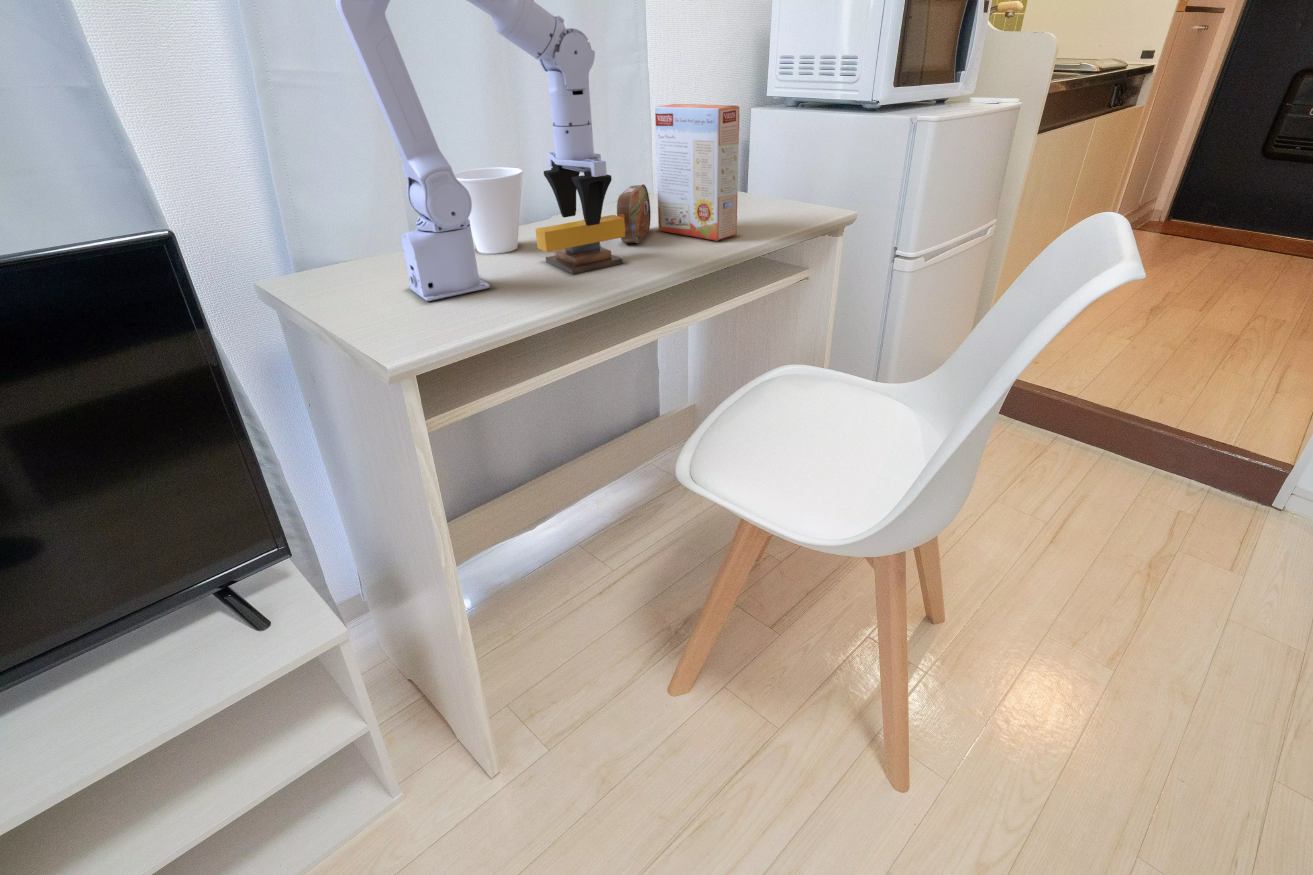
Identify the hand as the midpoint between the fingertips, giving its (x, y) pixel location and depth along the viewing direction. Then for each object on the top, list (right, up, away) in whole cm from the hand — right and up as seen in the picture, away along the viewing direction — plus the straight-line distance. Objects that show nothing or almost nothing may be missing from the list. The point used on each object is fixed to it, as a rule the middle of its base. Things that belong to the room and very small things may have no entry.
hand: (580, 220), depth 107 cm
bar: (0, -3, +2) cm, 3 cm away
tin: (+8, +2, +16) cm, 18 cm away
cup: (-16, -1, +13) cm, 21 cm away
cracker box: (+19, +3, +18) cm, 26 cm away
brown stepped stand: (0, -6, +3) cm, 7 cm away
